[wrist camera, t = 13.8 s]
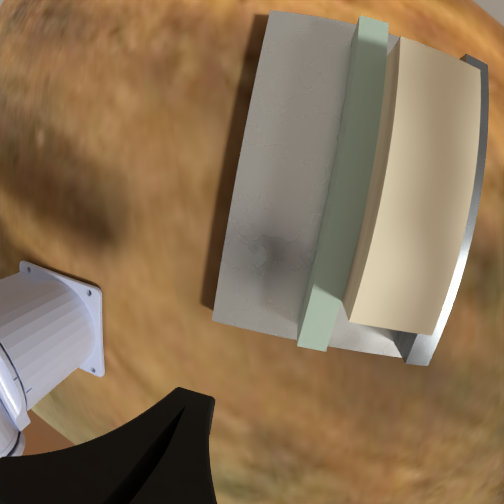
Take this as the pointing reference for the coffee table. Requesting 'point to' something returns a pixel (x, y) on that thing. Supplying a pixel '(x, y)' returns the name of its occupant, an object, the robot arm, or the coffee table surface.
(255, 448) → the coffee table surface
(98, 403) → the coffee table surface
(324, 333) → the bar
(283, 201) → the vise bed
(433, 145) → the wood bar
